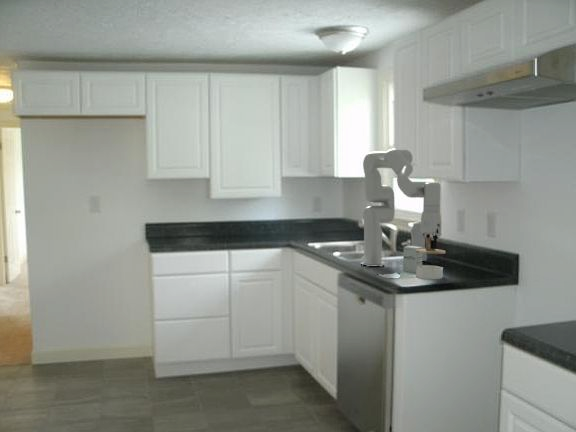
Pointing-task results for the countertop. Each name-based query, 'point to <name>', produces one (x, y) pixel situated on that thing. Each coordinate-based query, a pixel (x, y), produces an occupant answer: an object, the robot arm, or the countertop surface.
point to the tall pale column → (418, 238)
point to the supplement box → (411, 258)
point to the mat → (404, 276)
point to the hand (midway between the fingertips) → (430, 247)
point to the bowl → (429, 272)
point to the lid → (430, 251)
